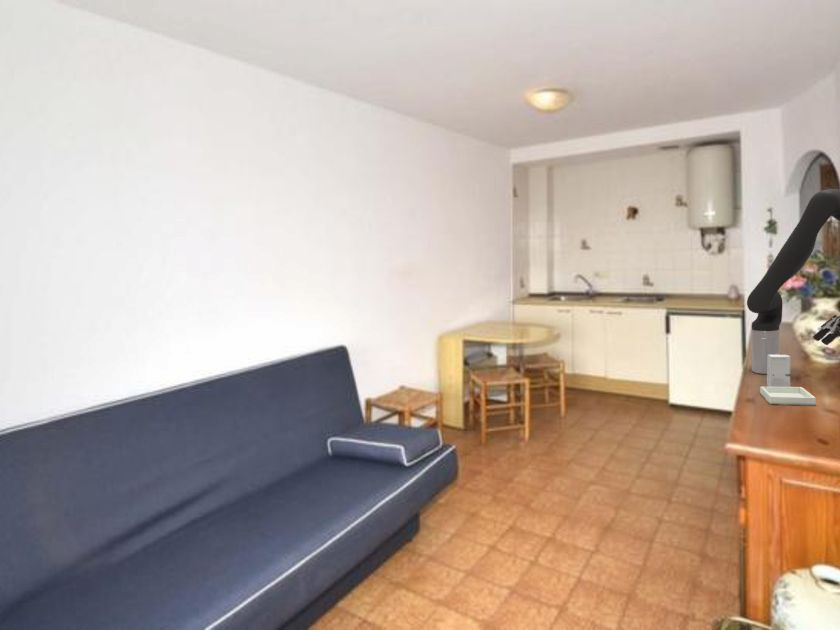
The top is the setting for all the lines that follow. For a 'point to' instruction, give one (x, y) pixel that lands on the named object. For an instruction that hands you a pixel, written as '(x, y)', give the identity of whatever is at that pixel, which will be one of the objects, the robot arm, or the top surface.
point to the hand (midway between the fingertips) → (819, 341)
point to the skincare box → (778, 370)
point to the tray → (787, 396)
